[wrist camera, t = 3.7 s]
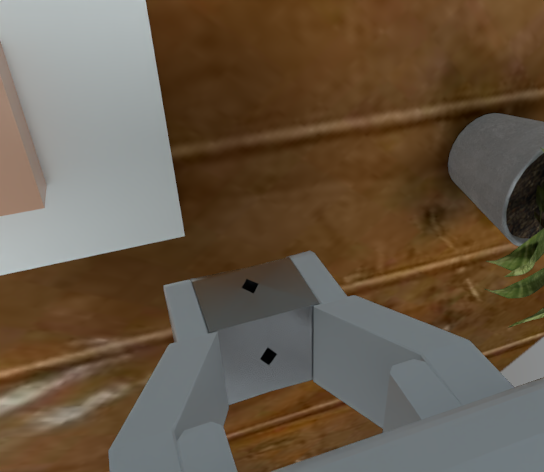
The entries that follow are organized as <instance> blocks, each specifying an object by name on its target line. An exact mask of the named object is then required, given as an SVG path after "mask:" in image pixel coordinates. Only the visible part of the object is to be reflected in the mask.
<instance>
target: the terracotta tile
mask: <svg viewBox="0 0 544 472" xmlns="http://www.w3.org/2000/svg"><path fill="white" fill-rule="evenodd" d="M46 190H47V184H46V181H45V178H44V174H43V171H42V168H41V165H40V162H39V159H38V156H37V153H36V150H35V147H34V143H33V140H32V137H31V134H30V131H29V128H28V125H27V122H26V119H25V116H24V112H23V109H22V106H21V103H20V100H19V97H18V94H17V91H16V88H15V85H14V81H13V78H12V75H11V72H10V69H9V66H8V63H7V60H6V57H5V53H4V50H3V47H2V44H1V41H0V216H5V215H10V214H16V213H21V212H26V211H32V210H37V209H42V208H45V200H46Z"/></svg>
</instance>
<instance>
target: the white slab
mask: <svg viewBox="0 0 544 472" xmlns="http://www.w3.org/2000/svg"><path fill="white" fill-rule="evenodd" d="M0 41H1V44H2V47H3V50H4V53H5V57H6V60H7V63H8V66H9V69H10V72H11V75H12V78H13V81H14V85H15V88H16V91H17V94H18V97H19V100H20V103H21V106H22V109H23V112H24V116H25V119H26V122H27V125H28V128H29V131H30V134H31V137H32V140H33V143H34V147H35V150H36V153H37V156H38V159H39V162H40V165H41V168H42V171H43V174H44V178H45V181H46V184H47V190H46V200H45V208H42V209H37V210H32V211H26V212H21V213H16V214H10V215H5V216H0V275H5V274H10V273H14V272H19V271H24V270H28V269H33V268H38V267H42V266H47V265H52V264H57V263H61V262H66V261H71V260H75V259H80V258H85V257H89V256H94V255H99V254H103V253H108V252H113V251H118V250H122V249H127V248H132V247H136V246H141V245H146V244H150V243H155V242H160V241H164V240H169V239H174V238H179V237H183V236H185V234H184V228H183V222H182V216H181V210H180V204H179V198H178V192H177V186H176V180H175V174H174V168H173V162H172V156H171V150H170V144H169V138H168V132H167V126H166V120H165V114H164V108H163V102H162V96H161V90H160V84H159V78H158V72H157V66H156V60H155V54H154V48H153V42H152V36H151V30H150V24H149V18H148V12H147V6H146V0H0Z"/></svg>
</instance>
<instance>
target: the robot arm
mask: <svg viewBox="0 0 544 472" xmlns="http://www.w3.org/2000/svg"><path fill="white" fill-rule="evenodd" d="M164 293H165V298H166V303H167V308H168V313H169V318H170V323H171V327H172V332H173V337H174V342H175V343H172V344H169V345H168V347H167V349H166V351H165V352H164V354H163V356H162V358H161V359H160V361H159V363H158V365H157V366H156V368H155V370H154V372H153V373H152V375H151V377H150V379H149V380H148V382H147V384H146V386H145V388H144V389H143V391H142V393H141V395H140V396H139V398H138V400H137V402H136V403H135V405H134V407H133V409H132V410H131V412H130V414H129V416H128V417H127V419H126V421H125V423H124V424H123V426H122V428H121V430H120V432H119V433H118V435H117V437H116V439H115V440H114V442H113V444H112V446H111V447H110V449H109V467H110V472H237V469H236V466H235V463H234V460H233V456H232V453H231V450H230V447H229V444H228V440H227V437H226V434H225V431H224V428H223V426H224V422H225V419H226V415H227V412H228V409H229V406H228V405H231V404H234V403H237V402H240V401H243V400H246V399H249V398H252V397H255V396H258V395H261V394H264V393H267V392H270V391H273V390H277V389H280V388H284V387H288V386H291V385H295V384H299V383H302V382H306V381H309V380H313V382H315V383H316V384H318V385H319V386H321V387H322V388H324V389H325V390H327V391H328V392H330V393H331V394H333V395H334V396H335V397H337V398H338V399H340V400H341V401H343V402H344V403H346V404H347V405H349V406H350V407H352V408H353V409H355V410H356V411H358V412H359V413H360V414H362V415H363V416H365V417H366V418H368V419H369V420H371V421H372V422H374V423H375V424H377V425H378V426H380V427H381V428H383V433H381V434H378V435H376V436H373V437H370V438H367V439H364V440H361V441H358V442H355V443H352V444H349V445H347V446H344V447H341V448H338V449H335V450H332V451H329V452H326V453H323V454H321V455H318V456H315V457H312V458H309V459H306V460H303V461H300V462H297V463H294V464H292V465H289V466H286V467H283V468H280V469H277V470H274V471H271V472H544V378H540V379H537V380H535V381H532V382H529V383H526V384H523V385H520V386H517V387H514V386H513V385H512V384H511V383H510V382H509V381H508V380H507V379H506V378H505V377H504V376H503V375H502V374H501V373H500V372H499V371H498V370H497V369H496V368H495V367H494V366H493V365H492V363H491V362H490V361H489V360H488V359H487V358H486V357H485V356H484V355H483V354H482V353H481V352H480V351H479V350H478V349H477V348H476V347H475V346H474V345H473V344H472V343H471V342H470V341H469V340H467V339H465V338H462V337H459V336H457V335H454V334H452V333H449V332H447V331H444V330H442V329H439V328H437V327H434V326H432V325H429V324H427V323H424V322H421V321H419V320H416V319H414V318H411V317H409V316H406V315H404V314H401V313H399V312H396V311H394V310H391V309H388V308H386V307H383V306H381V305H378V304H376V303H373V302H371V301H368V300H366V299H363V298H361V297H358V296H355V295H353V296H349V297H348V296H347V295H346V294H345V293H344V291H343V290H342V289H341V287H340V286H339V285H338V283H337V282H336V281H335V279H334V278H333V277H332V275H331V274H330V273H329V271H328V270H327V269H326V268H325V266H324V265H323V264H322V262H321V261H320V260H319V258H318V257H317V256H316V254H315V253H314V252H312V251H307V252H303V253H300V254H296V255H292V256H288V257H287V258H284V259H280V260H276V261H271V262H267V263H263V264H259V265H255V266H251V267H247V268H243V269H236V270H231V271H227V272H222V273H217V274H212V275H208V276H203V277H198V278H194V279H190V280H185V281H181V282H176V283H172V284H168V285H164Z"/></svg>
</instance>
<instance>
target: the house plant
mask: <svg viewBox="0 0 544 472" xmlns="http://www.w3.org/2000/svg"><path fill="white" fill-rule="evenodd" d="M448 170H449V174H450V177H451V179H452V181H453V182H454V183H455V184H456V185H457V186H458V187H459V188H460V189H461V190H462V191H463V192H464V193H465V194H466V195H467V196H468V197H469V198H470V200H471V201H472V202H473V203H474V204H475V205H476V206H477V207H478V208H479V209H480V210H481V211H482V212H483V213H484V214H485V215H486V216H487V217H488V218H489V219H490V220H491V222H492V223H493V224H494V225H495V226H496V227H497V228H498V229H499V230H500V231H501V232H502V233H503V234H504V235H505V236H506V237H507V238H508V239H509V240H510V241H511V242H512V243H513V244H514V245H517V246H519V247H518V248H517V249H516V250H514V251H513V252H512V253H511V254H509V255H507V256H505V257H503V258H501V259H499V260H496V261H486V262H490V263H494V264H497V265H499V266H502V267H504V268H506V269H508V270H511V271H512V272H511V273H509V274H508V275H507V276H505V277H510V276H517V275H522V274H525V273H527V272H529V271H530V270H531V269H532V268H533V266H534V264H535V262H536V261H537V260H538V259H539V258H540V257H541V256H542V255H543V253H544V122H542V121H537V120H531V119H526V118H521V117H516V116H511V115H506V114H499V113H491V114H486V115H483V116H481V117H479V118H477V119H475V120H474V121H473V122H471V123H470V124H469V125H467V126H466V127H465V129H464V130H463V131H462V132H461V133H460V134H459V136H458V137H457V139H456V141H455V142H454V144H453V146H452V149H451V151H450V154H449V160H448ZM513 270H514V271H513ZM543 285H544V268H543V269H541V270H540V271H538V272H536V273H535V274H533V275H531V276H529V277H527V278H525V279H523V280H521V281H519V282H517V283H514V284H512V285H510V286H508V287H506V288H504V289H500V290H494V291H491V290H488V291H490V292H493V293H496V294H498V295H501V296H504V297H506V298H521V297H526V296H529V295H531V294H533V293H535V292H536V291H537V290H539V289H540V288H541V287H542V286H543ZM485 290H487V289H485ZM542 317H544V308H543V309H541V310H540V311H539V312H538V313H536V314H534V315H533V316H531V317H528V318H526V319H523V320H521V321H519V322H516V323H514V324H513V325H511V326H509V327H512V326H515V325H517V324H520V323H523V322H527V321H530V320H534V319H538V318H542Z"/></svg>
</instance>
